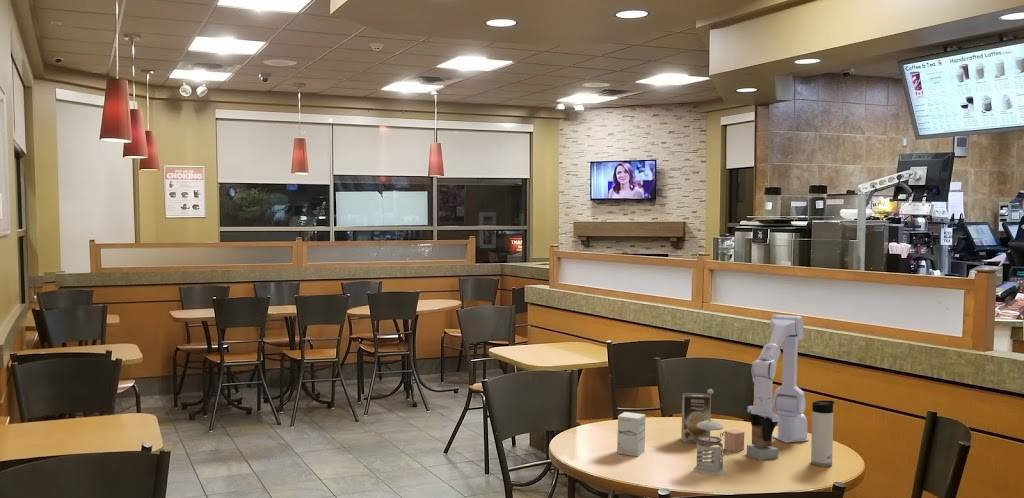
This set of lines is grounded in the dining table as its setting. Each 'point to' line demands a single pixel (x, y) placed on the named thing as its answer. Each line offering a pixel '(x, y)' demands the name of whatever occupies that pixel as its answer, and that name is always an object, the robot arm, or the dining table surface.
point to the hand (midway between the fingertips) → (762, 438)
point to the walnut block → (759, 437)
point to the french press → (710, 448)
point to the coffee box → (694, 416)
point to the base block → (762, 452)
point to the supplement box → (631, 434)
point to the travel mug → (822, 433)
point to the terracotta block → (734, 440)
